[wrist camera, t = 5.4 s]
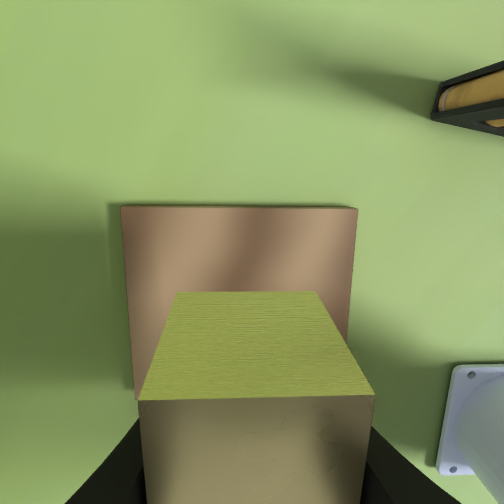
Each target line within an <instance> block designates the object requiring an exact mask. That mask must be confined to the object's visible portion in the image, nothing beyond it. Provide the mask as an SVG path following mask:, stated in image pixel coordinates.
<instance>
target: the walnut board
mask: <svg viewBox="0 0 504 504" xmlns="http://www.w3.org/2000/svg"><path fill="white" fill-rule="evenodd" d="M120 210H121V223H122V236H123V249H124V262H125V275H126V288H127V301H128V315H129V328H130V341H131V354H132V367H133V380H134V393H135V400H138V398H139V395H140V393H141V390H142V387H143V384H144V382H145V379H146V376H147V373H148V371H149V368H150V365H151V362H152V360H153V357H154V354H155V351H156V349H157V346H158V343H159V340H160V338H161V335H162V332H163V329H164V327H165V324H166V321H167V318H168V316H169V313H170V310H171V307H172V305H173V302H174V299H175V296H176V293H177V292H268V291H316V293H317V295H318V296H319V298H320V300H321V302H322V303H323V305H324V307H325V308H326V310H327V312H328V314H329V315H330V317H331V319H332V320H333V322H334V324H335V326H336V327H337V329H338V331H339V333H340V334H341V336H342V338H343V339H344V341H345V343H346V338H347V327H348V316H349V305H350V294H351V283H352V272H353V261H354V250H355V239H356V228H357V217H358V209H356V208H354V207H271V206H164V205H124V206H122V207H120Z"/></svg>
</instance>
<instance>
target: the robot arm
mask: <svg viewBox="0 0 504 504" xmlns="http://www.w3.org/2000/svg"><path fill="white" fill-rule="evenodd" d="M469 372H471V373H470V374H469V375H468V373H469ZM436 469H437V471H438V472H439V474H441V475H471V474H476V475H477V477H478V478H479V479H480V480H481V482H482V483H483V484H484V486H485V487H486V488H487V489H488V491H489V492H490V493H491V494H492V496H493V497H494V498H495V500H496V501H497V502H498V503H499V504H504V364H474V365H458V366H456V367H455V368H454V369H453V371H452V376H451V382H450V387H449V393H448V399H447V404H446V410H445V416H444V421H443V427H442V432H441V438H440V444H439V449H438V455H437V460H436ZM65 504H147V497H146V486H145V475H144V464H143V453H142V442H141V431H140V420H139V418H138V419H137V421H136V422H135V423H134V425H133V426H132V427H131V429H130V430H129V431H128V433H127V434H126V435H125V436H124V438H123V439H122V440H121V441H120V443H119V444H118V445H117V446H116V447H115V449H114V450H113V451H112V452H111V453H110V455H109V456H108V457H107V458H106V459H105V461H104V462H103V463H102V464H101V465H100V466H99V467H98V468H97V470H96V471H95V472H94V473H93V474H92V475H91V476H90V477H89V478H88V480H87V481H86V482H85V483H84V484H83V485H82V486H81V487H80V488H79V489H78V490H77V491H76V492H75V493H74V494H73V496H72V497H71V498H70V499H69V500H68V501H67V502H66V503H65ZM360 504H461V503H460V502H459V501H457V500H456V499H455V498H453V497H452V496H451V495H449V494H448V493H447V492H445V491H444V490H443V489H441V488H440V487H439V486H438V485H436V484H435V483H434V482H433V481H431V480H430V479H429V478H428V477H427V476H425V475H424V474H423V473H422V472H421V471H420V470H418V469H417V468H416V467H415V466H414V465H413V464H411V463H410V462H409V461H408V460H407V459H406V458H405V457H404V456H402V455H401V454H400V453H399V452H398V451H397V450H396V449H395V448H394V447H393V446H392V445H391V444H389V443H388V442H387V441H386V440H385V439H384V438H383V437H382V436H381V435H380V434H379V433H378V432H377V431H376V430H375V429H374V428H373V427H372V426H371V429H370V436H369V443H368V450H367V457H366V464H365V471H364V477H363V484H362V491H361V498H360Z"/></svg>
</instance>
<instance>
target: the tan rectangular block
mask: <svg viewBox="0 0 504 504" xmlns="http://www.w3.org/2000/svg"><path fill="white" fill-rule="evenodd" d="M374 402H375V393H374V391H373V389H372V388H371V386H370V384H369V383H368V381H367V379H366V377H365V376H364V374H363V372H362V371H361V369H360V367H359V365H358V364H357V362H356V360H355V358H354V357H353V355H352V353H351V352H350V350H349V348H348V346H347V345H346V343H345V341H344V339H343V338H342V336H341V334H340V333H339V331H338V329H337V327H336V326H335V324H334V322H333V320H332V319H331V317H330V315H329V314H328V312H327V310H326V308H325V307H324V305H323V303H322V302H321V300H320V298H319V296H318V295H317V293H316V291H268V292H177V293H176V296H175V299H174V302H173V305H172V307H171V310H170V313H169V316H168V318H167V321H166V324H165V327H164V329H163V332H162V335H161V338H160V340H159V343H158V346H157V349H156V351H155V354H154V357H153V360H152V362H151V365H150V368H149V371H148V373H147V376H146V379H145V382H144V384H143V387H142V390H141V393H140V395H139V398H138V409H139V420H140V431H141V442H142V453H143V464H144V475H145V486H146V497H147V504H360V498H361V491H362V484H363V477H364V471H365V464H366V457H367V450H368V443H369V436H370V429H371V422H372V415H373V408H374Z"/></svg>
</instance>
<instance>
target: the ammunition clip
mask: <svg viewBox="0 0 504 504" xmlns="http://www.w3.org/2000/svg"><path fill="white" fill-rule="evenodd" d="M431 119H432V120H433V121H437V122H441V123H446V124H450V125H455V126H459V127H464V128H468V129H473V130H477V131H482V132H486V133H490V134H495V135H499V136H504V61H501V62H498V63H495V64H492V65H489V66H486V67H484V68H481V69H478V70H475V71H472V72H469V73H466V74H463V75H461V76H458V77H455V78H452V79H449V80H446V81H443V82H441V84H440V87H439V91H438V94H437V97H436V101H435V104H434V108H433V111H432V114H431Z"/></svg>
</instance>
